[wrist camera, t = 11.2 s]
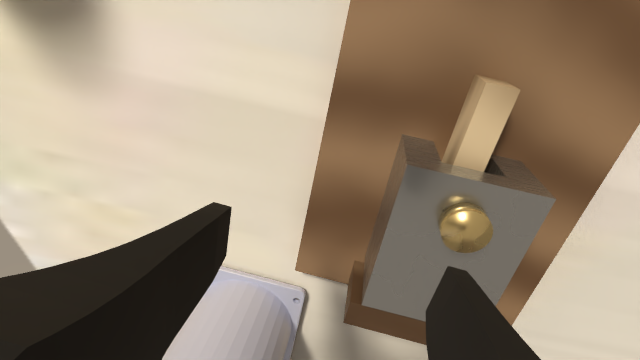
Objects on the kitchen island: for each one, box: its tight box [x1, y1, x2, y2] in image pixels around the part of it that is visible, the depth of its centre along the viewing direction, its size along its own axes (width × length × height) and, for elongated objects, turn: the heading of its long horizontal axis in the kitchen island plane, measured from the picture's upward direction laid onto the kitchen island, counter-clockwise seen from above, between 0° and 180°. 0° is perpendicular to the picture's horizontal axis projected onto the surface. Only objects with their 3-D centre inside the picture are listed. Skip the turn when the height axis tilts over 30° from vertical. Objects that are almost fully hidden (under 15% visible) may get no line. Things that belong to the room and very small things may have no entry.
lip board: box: [295, 0, 640, 345], centre depth 16 cm, size 22×14×4 cm, turn 169°
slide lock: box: [362, 134, 556, 322], centre depth 17 cm, size 8×6×5 cm
